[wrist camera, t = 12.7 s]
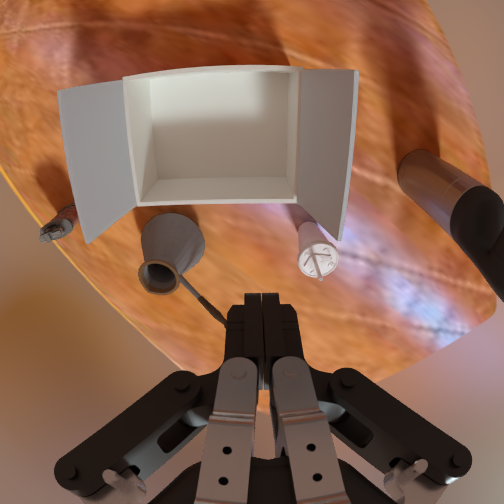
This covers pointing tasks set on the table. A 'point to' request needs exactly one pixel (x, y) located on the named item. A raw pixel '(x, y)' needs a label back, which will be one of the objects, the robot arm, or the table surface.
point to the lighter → (60, 224)
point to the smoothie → (315, 251)
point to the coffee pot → (172, 256)
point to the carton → (214, 134)
